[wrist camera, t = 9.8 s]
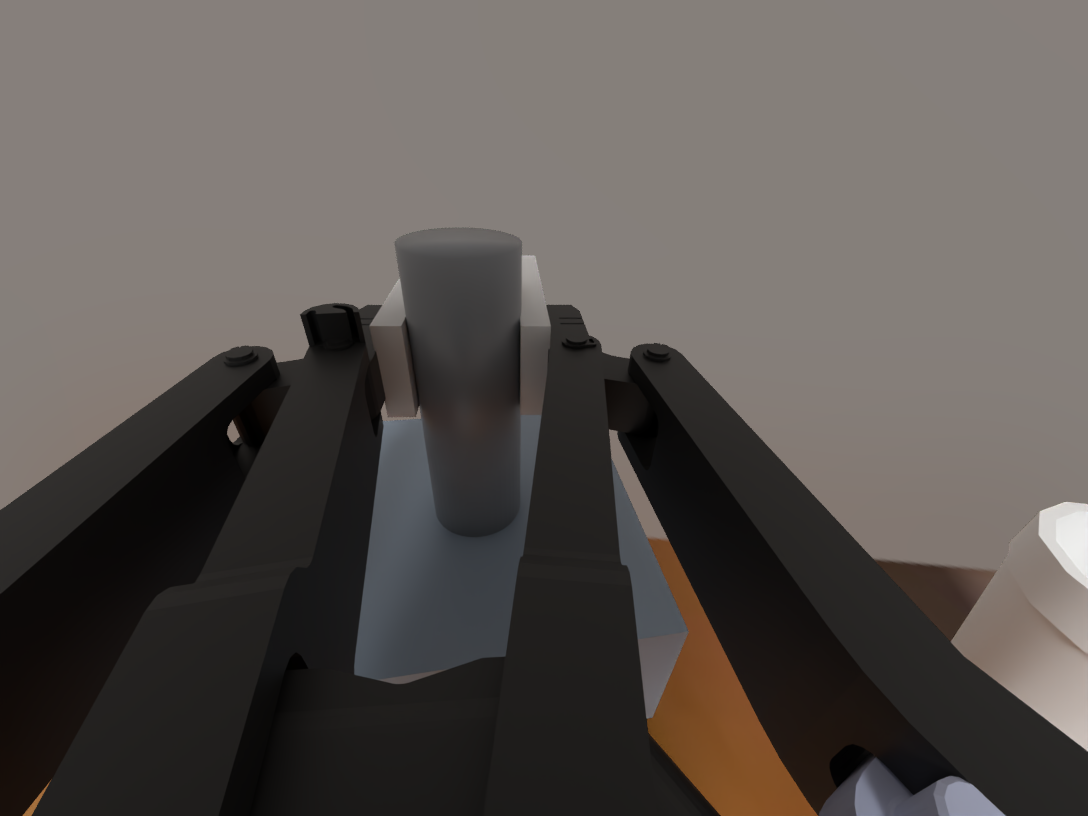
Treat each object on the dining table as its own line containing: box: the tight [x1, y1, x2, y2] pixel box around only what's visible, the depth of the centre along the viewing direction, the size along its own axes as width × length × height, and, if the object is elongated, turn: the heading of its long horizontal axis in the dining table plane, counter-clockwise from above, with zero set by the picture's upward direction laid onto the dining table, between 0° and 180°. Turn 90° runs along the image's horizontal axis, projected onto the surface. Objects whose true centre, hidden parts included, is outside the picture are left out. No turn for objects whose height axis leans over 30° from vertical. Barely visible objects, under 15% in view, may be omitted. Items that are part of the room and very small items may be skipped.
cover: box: [354, 228, 689, 719], centre depth 14 cm, size 11×11×15 cm
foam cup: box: [951, 502, 1088, 751], centre depth 22 cm, size 10×9×13 cm
